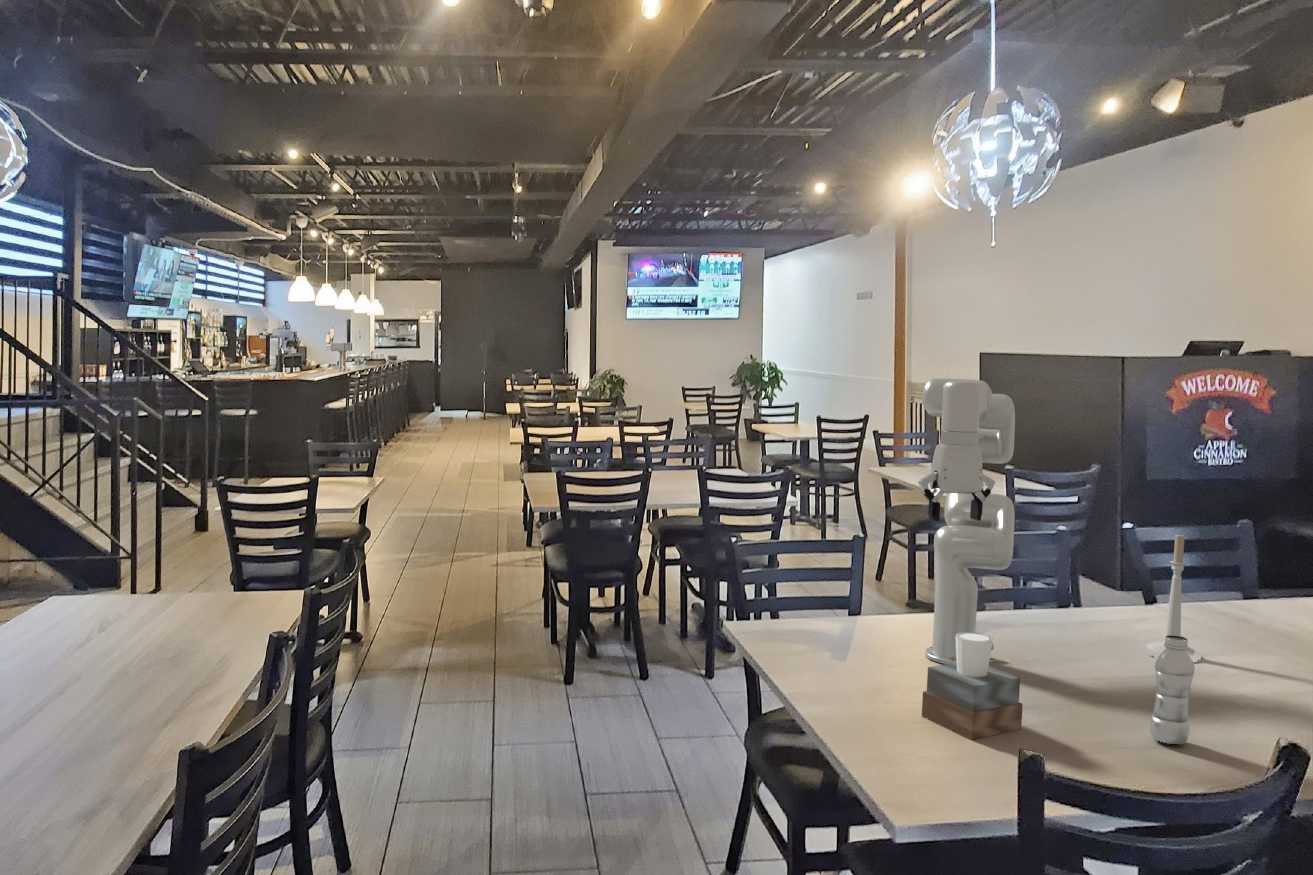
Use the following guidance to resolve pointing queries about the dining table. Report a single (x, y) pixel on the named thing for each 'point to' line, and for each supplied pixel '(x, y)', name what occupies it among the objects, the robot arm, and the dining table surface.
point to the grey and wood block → (972, 701)
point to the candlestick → (1174, 599)
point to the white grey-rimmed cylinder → (973, 654)
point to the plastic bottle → (1172, 692)
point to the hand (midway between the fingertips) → (954, 519)
